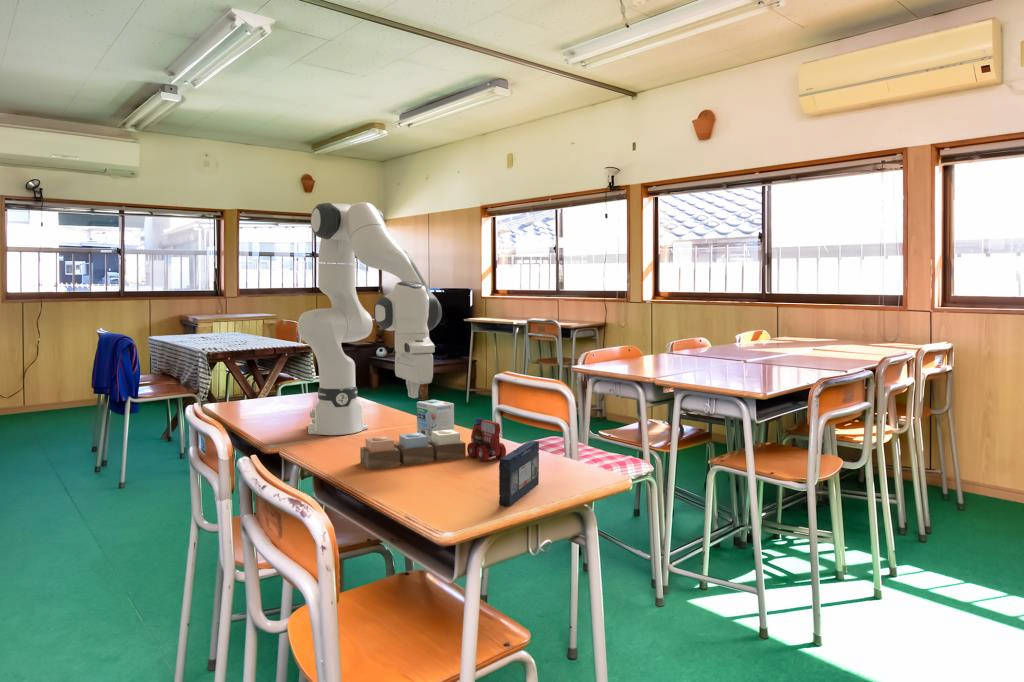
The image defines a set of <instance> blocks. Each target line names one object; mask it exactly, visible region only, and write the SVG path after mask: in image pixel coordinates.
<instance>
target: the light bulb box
mask: <svg viewBox="0 0 1024 682" xmlns="http://www.w3.org/2000/svg"><path fill="white" fill-rule="evenodd" d="M451 429H452V430H454V431H455V404H454V403H452V402H449V401H443V400H437V399H430V400H429V399H428V400H422V401H420V400H419V401H417V402H416V433H422V434H424V435H426V436H427V437H428V440H432V431H441V430H451Z"/></svg>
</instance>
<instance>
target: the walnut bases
mask: <svg viewBox="0 0 1024 682" xmlns="http://www.w3.org/2000/svg"><path fill="white" fill-rule="evenodd" d="M466 446H467V445H466V442H464V441H462V440H461V439H460V443H454V444H446V445H437V444H436V443H434V442H432V440H429V439H428V447H419V448H410V449H405V448H403V447H402V446H400V445H399V442H398V443H394V450H392V451H383V452H374V453H370V452H369V451H368V450H366V446H363V447H361V446H360V447H359V448H360V449H359V450H360V451H359V453H360V463H361V465H363V466H364V468H366V469H367V470H368V471H370V470H379V469H386V468H394V467H401V465H402V466H411V465H419V464H428V463H433V462H434V461H436V462H442V461H450V460H451V461H452V460H459V459H466V458H467V455H466V454H467V453H466V451H467V448H466Z"/></svg>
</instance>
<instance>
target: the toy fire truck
mask: <svg viewBox="0 0 1024 682" xmlns="http://www.w3.org/2000/svg"><path fill="white" fill-rule="evenodd" d="M472 426H473V427H472V430H471V434H470V435H471V436H470V440H471V441H470V442H469V443H468V444H467V445H466V446H467V448H466V451H467V454H468V456H469V457H470V458H471V459H472V458H473V459H474V458H477V459H478V460H479V462H481V463H484V462H487V461H488V460H489V458H492V457H495V458H496V459H499V460H500V459H501V458H503V457H504V456H506V455H507V448H506V446H505V444H504V443H502V442H500V441H501V439H500V434H501V425H500V422H496V421H491V420H488V419H484V420H483V418H482V417H477V418H476V420H475V423H474V424H473V425H472Z"/></svg>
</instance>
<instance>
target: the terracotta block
mask: <svg viewBox="0 0 1024 682" xmlns="http://www.w3.org/2000/svg"><path fill="white" fill-rule="evenodd" d="M364 440H365V442H364V443H365V447H366V450H368V451H369V452H370V453H374V452H383V451H392V450H394V444H395V440H394V439H393V438H391V437H389V436H388V435H385V436H373V437H366V438H365V439H364Z"/></svg>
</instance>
